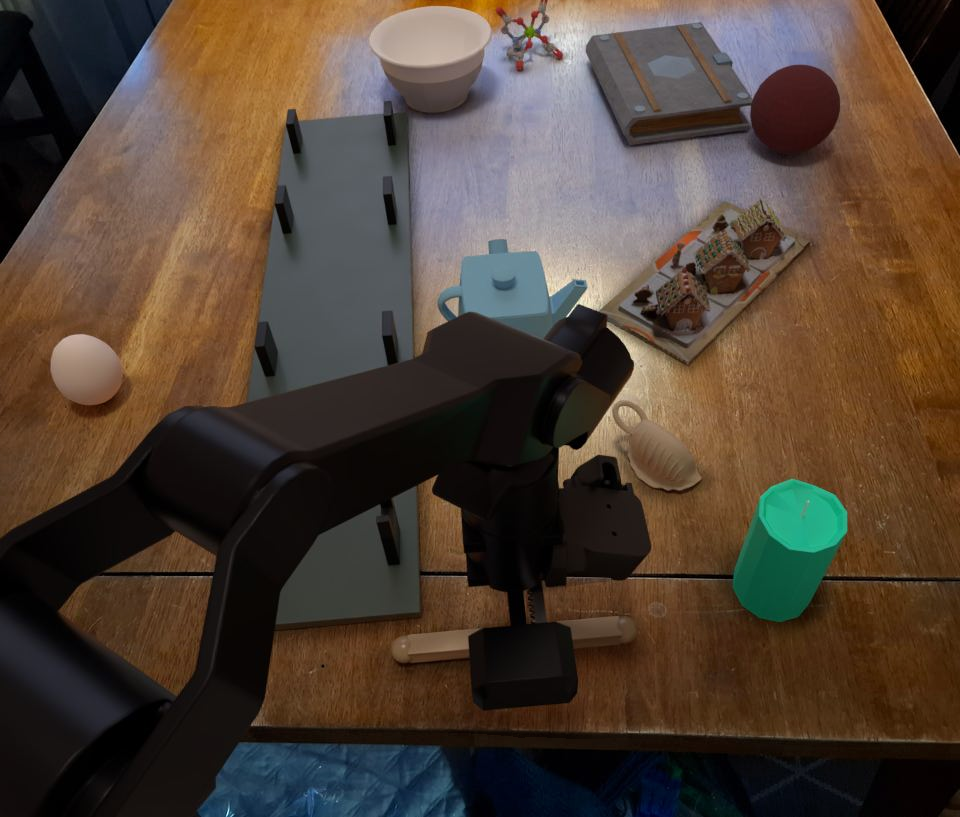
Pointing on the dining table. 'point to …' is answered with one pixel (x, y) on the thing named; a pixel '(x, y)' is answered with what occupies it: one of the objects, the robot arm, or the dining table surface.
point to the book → (668, 83)
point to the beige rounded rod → (457, 641)
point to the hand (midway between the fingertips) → (513, 617)
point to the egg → (86, 369)
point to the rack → (342, 339)
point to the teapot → (510, 290)
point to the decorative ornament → (657, 453)
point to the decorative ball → (795, 109)
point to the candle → (788, 549)
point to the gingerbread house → (706, 280)
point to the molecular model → (527, 34)
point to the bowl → (432, 54)
